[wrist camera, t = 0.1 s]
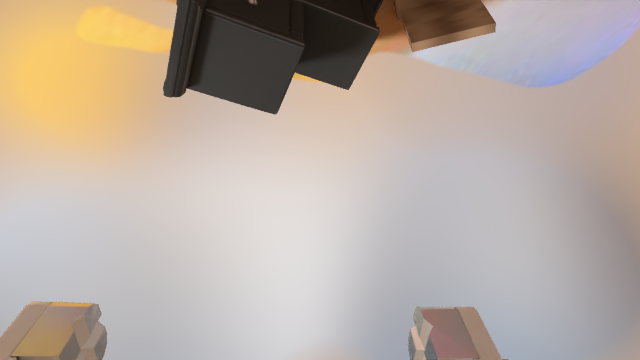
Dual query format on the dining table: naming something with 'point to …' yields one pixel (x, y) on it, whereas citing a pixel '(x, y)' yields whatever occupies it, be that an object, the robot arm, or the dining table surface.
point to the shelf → (443, 21)
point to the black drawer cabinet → (267, 46)
